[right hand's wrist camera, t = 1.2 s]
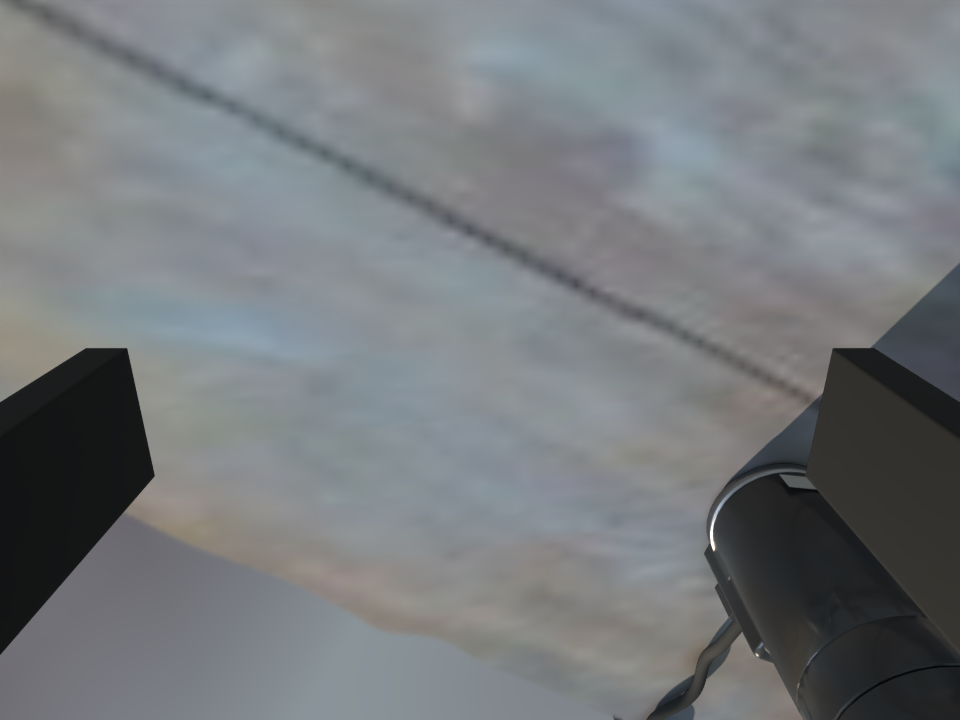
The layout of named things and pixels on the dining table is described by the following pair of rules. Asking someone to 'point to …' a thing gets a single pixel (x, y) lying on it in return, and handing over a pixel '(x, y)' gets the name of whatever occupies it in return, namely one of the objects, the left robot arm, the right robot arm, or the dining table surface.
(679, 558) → the dining table surface
